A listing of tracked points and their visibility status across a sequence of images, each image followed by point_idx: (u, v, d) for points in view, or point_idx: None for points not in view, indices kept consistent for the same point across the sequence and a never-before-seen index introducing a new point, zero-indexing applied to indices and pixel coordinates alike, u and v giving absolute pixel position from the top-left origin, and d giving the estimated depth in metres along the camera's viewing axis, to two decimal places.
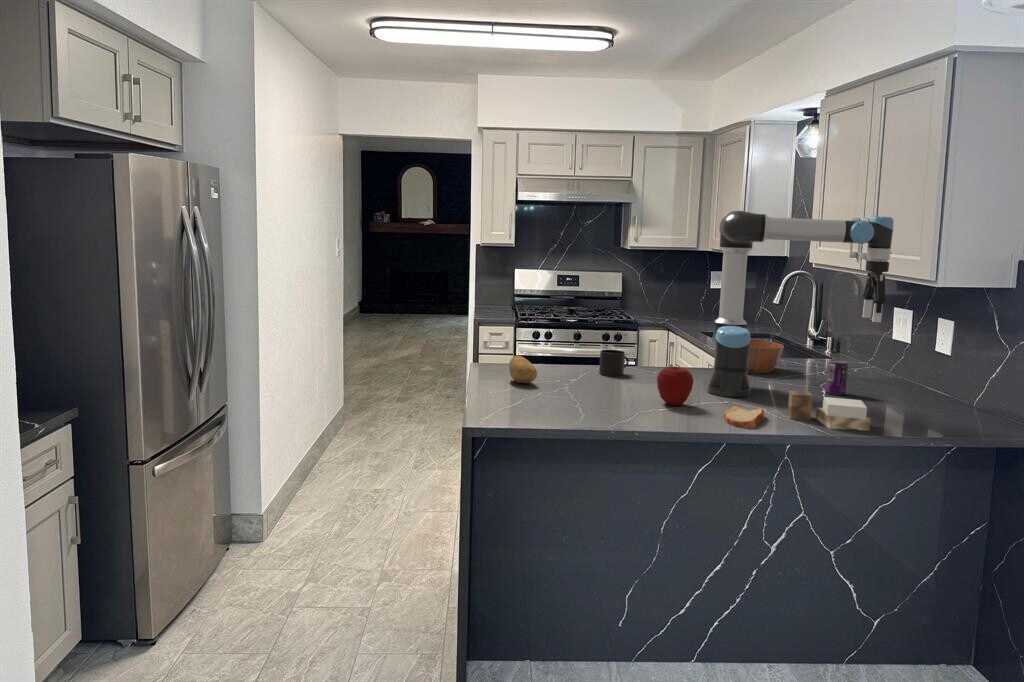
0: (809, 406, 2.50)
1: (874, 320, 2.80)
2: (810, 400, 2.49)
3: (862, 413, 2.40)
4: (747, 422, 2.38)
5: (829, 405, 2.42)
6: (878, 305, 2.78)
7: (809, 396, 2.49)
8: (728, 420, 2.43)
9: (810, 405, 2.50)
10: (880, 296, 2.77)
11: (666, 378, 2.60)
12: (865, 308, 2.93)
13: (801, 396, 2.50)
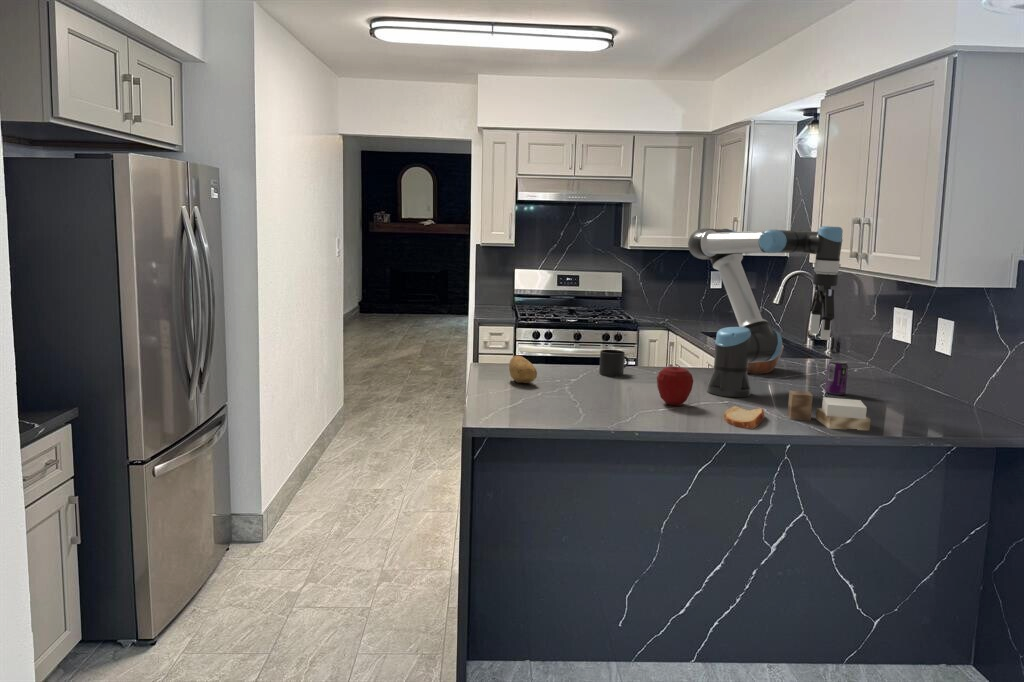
0: (809, 406, 2.50)
1: (822, 338, 2.61)
2: (810, 400, 2.49)
3: (862, 413, 2.40)
4: (748, 422, 2.38)
5: (829, 405, 2.42)
6: (826, 322, 2.59)
7: (809, 396, 2.49)
8: (729, 420, 2.42)
9: (810, 405, 2.50)
10: (829, 312, 2.58)
11: (666, 378, 2.60)
12: (812, 323, 2.74)
13: (801, 396, 2.50)
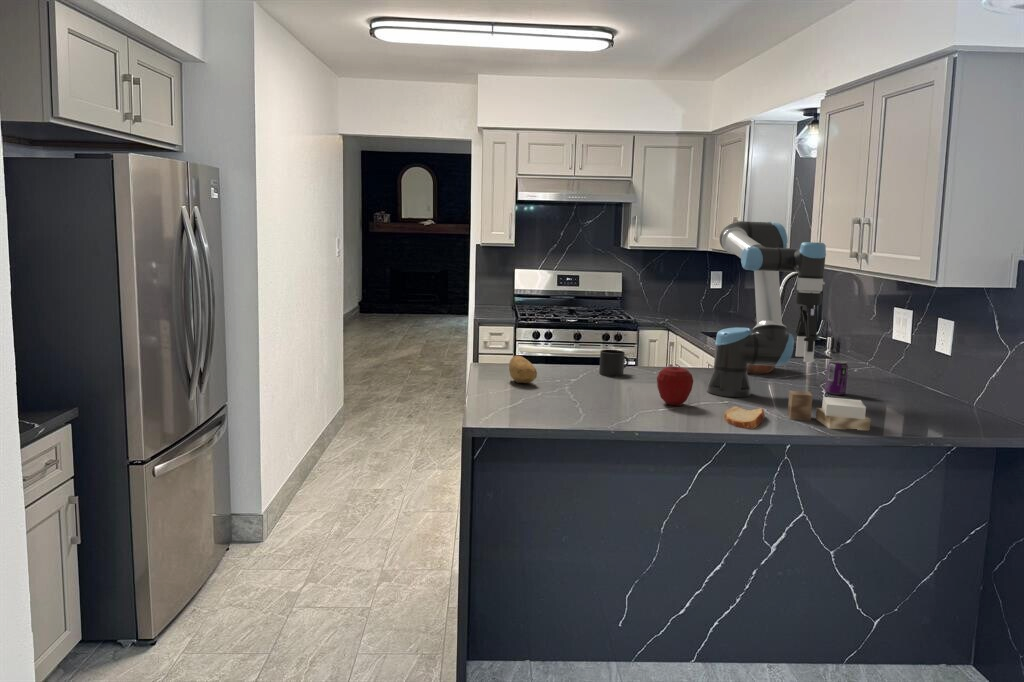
0: (809, 406, 2.50)
1: (805, 360, 2.45)
2: (810, 400, 2.49)
3: (861, 413, 2.40)
4: (748, 422, 2.38)
5: (828, 405, 2.42)
6: (809, 343, 2.43)
7: (809, 396, 2.49)
8: (729, 420, 2.42)
9: (810, 405, 2.50)
10: (811, 333, 2.42)
11: (666, 378, 2.60)
12: (798, 346, 2.58)
13: (801, 396, 2.50)
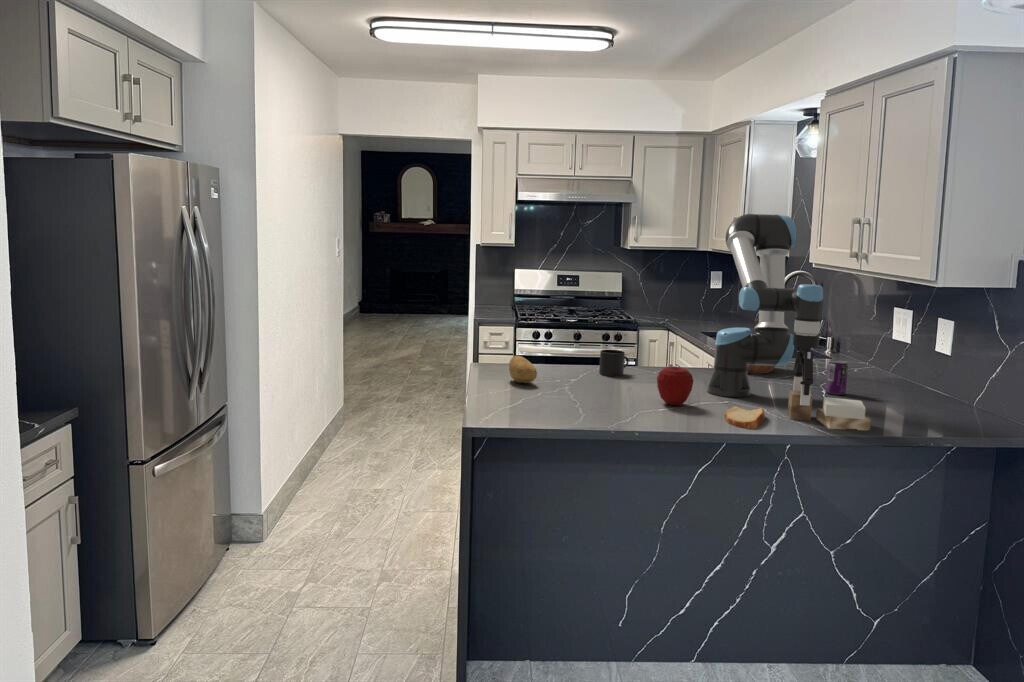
0: (809, 406, 2.50)
1: (802, 403, 2.46)
2: (810, 400, 2.49)
3: (861, 413, 2.39)
4: (749, 422, 2.38)
5: (827, 405, 2.42)
6: (805, 386, 2.44)
7: None
8: (730, 420, 2.42)
9: (810, 405, 2.50)
10: (807, 377, 2.42)
11: (666, 378, 2.60)
12: (795, 386, 2.58)
13: None
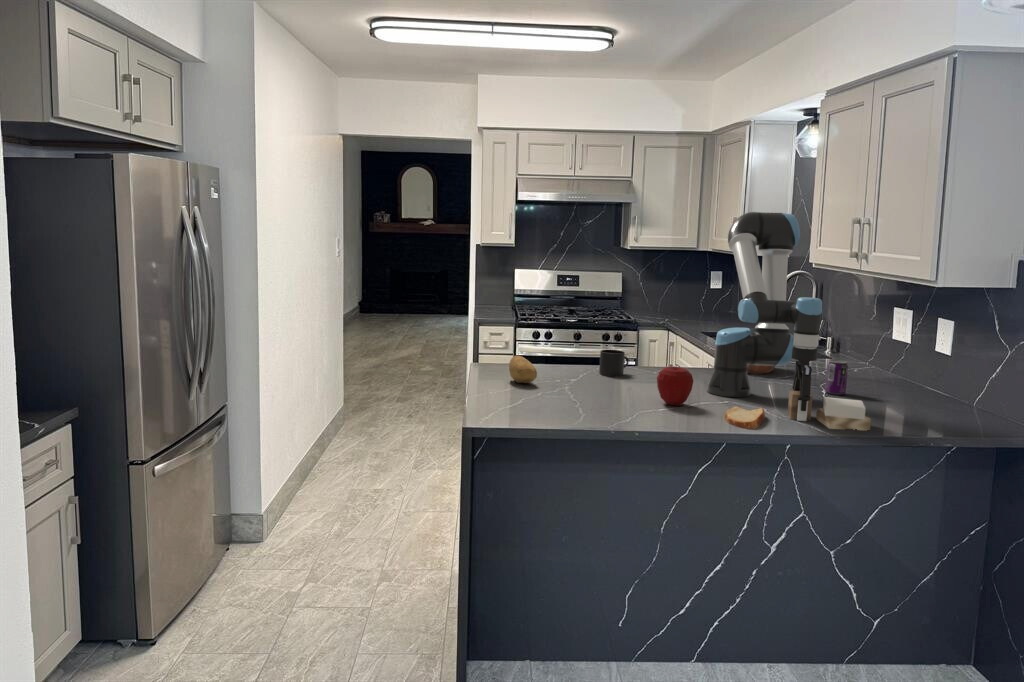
0: (809, 406, 2.50)
1: (799, 419, 2.48)
2: (810, 400, 2.49)
3: (861, 413, 2.39)
4: (749, 422, 2.38)
5: (827, 405, 2.42)
6: (802, 402, 2.46)
7: None
8: (730, 420, 2.42)
9: (810, 405, 2.50)
10: (804, 393, 2.45)
11: (666, 378, 2.60)
12: None
13: None
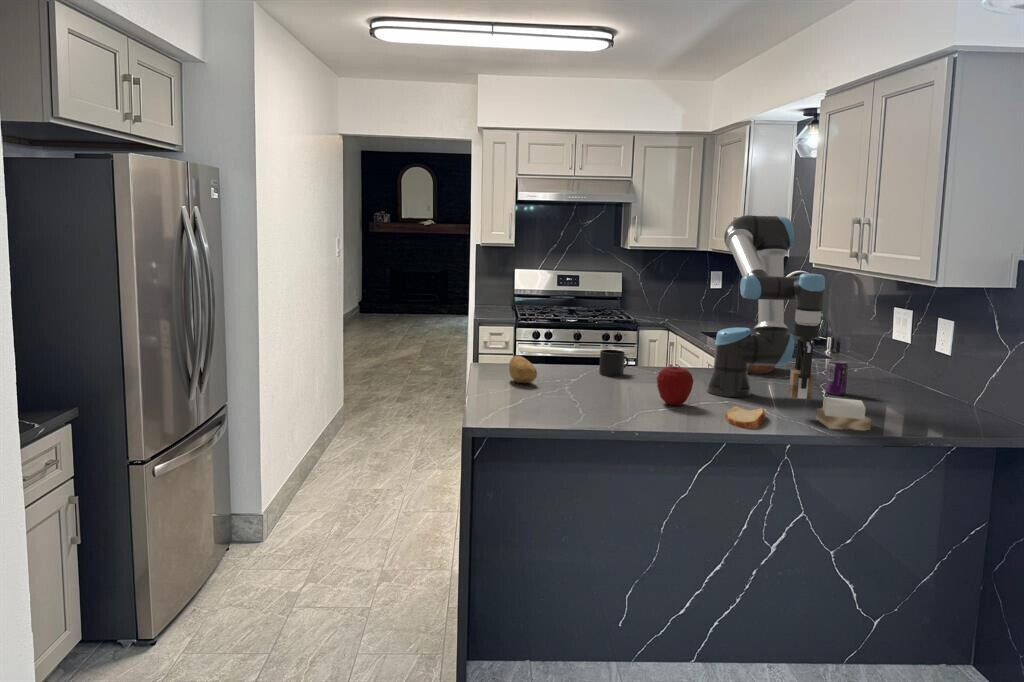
0: (810, 385, 2.49)
1: (799, 396, 2.50)
2: (811, 379, 2.49)
3: (861, 413, 2.39)
4: (750, 422, 2.38)
5: (827, 405, 2.42)
6: (803, 380, 2.48)
7: None
8: (730, 420, 2.42)
9: (811, 384, 2.49)
10: (805, 371, 2.45)
11: (666, 378, 2.60)
12: None
13: None
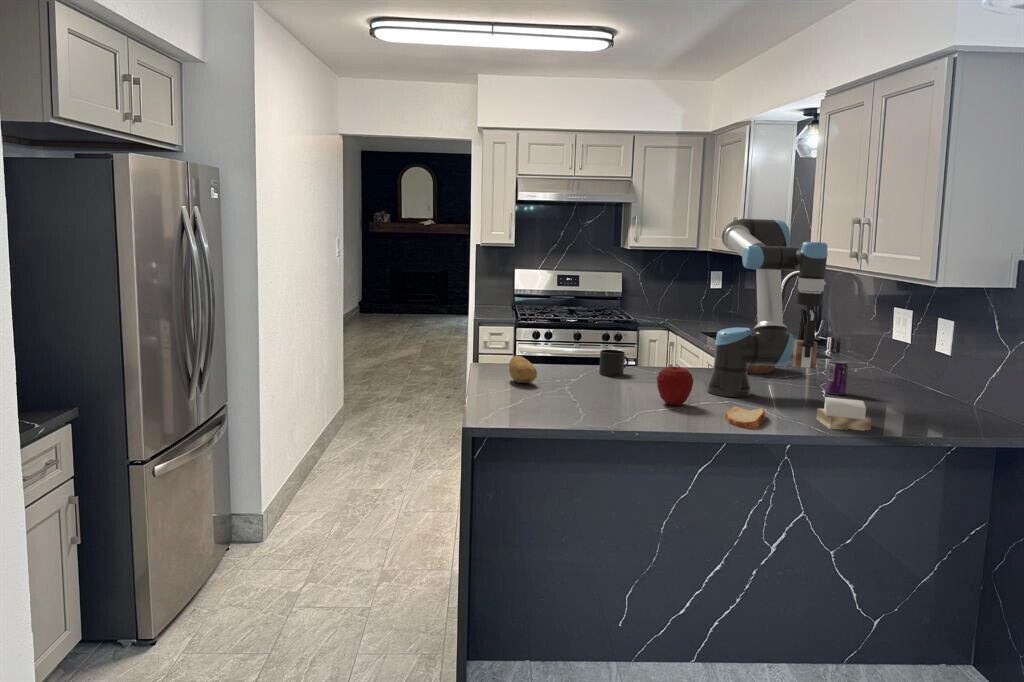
0: (814, 354, 2.47)
1: (802, 365, 2.48)
2: (815, 348, 2.47)
3: (861, 413, 2.39)
4: (750, 422, 2.38)
5: (828, 405, 2.42)
6: (806, 349, 2.46)
7: (814, 344, 2.47)
8: (731, 421, 2.42)
9: (815, 353, 2.47)
10: (808, 339, 2.43)
11: (666, 378, 2.60)
12: None
13: None
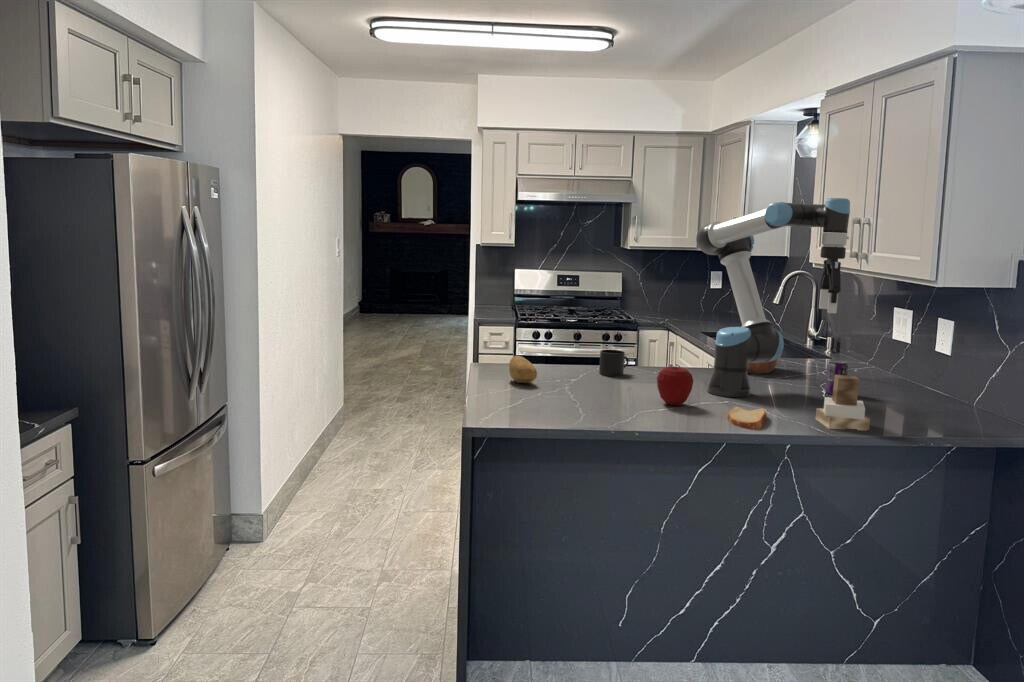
0: (855, 391, 2.41)
1: (829, 311, 2.57)
2: (857, 384, 2.41)
3: (861, 413, 2.39)
4: (754, 423, 2.37)
5: (827, 405, 2.42)
6: (833, 295, 2.55)
7: (856, 380, 2.41)
8: (734, 421, 2.42)
9: (857, 389, 2.41)
10: (835, 285, 2.53)
11: (666, 378, 2.60)
12: (821, 298, 2.70)
13: (847, 380, 2.41)
